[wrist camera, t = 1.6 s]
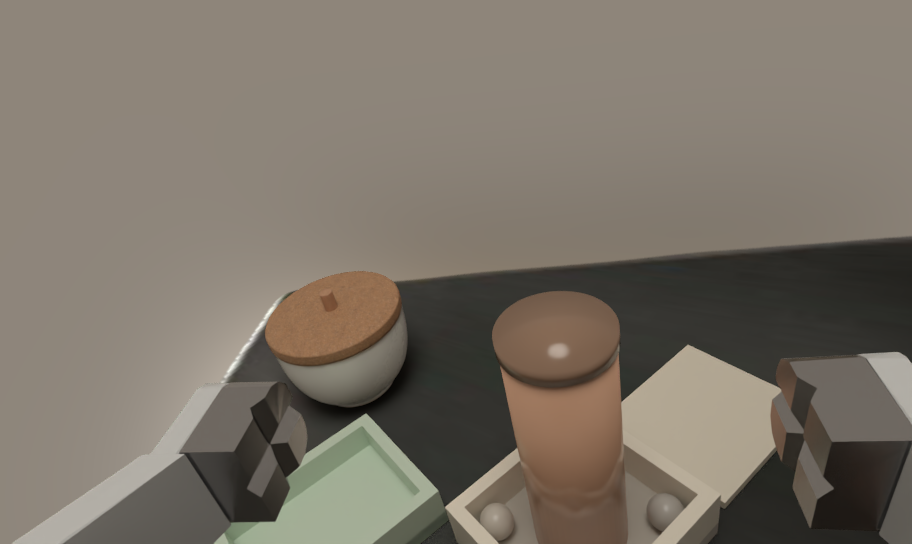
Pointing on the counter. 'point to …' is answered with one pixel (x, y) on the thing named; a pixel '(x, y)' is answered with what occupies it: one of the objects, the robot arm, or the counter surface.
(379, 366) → the lidded jar
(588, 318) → the terracotta canister
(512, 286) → the counter surface
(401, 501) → the sage tray
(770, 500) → the counter surface
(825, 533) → the counter surface
